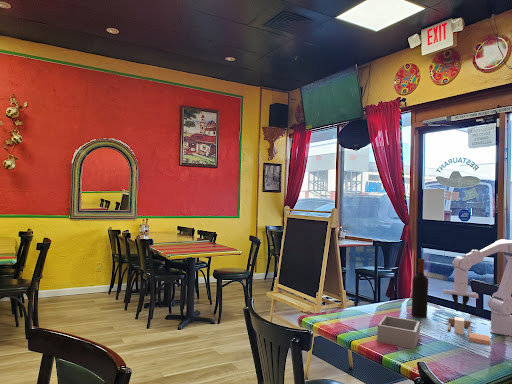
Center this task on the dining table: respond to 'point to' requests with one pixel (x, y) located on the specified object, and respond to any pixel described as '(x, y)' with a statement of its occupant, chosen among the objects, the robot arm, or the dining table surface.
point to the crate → (398, 332)
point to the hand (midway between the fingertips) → (459, 311)
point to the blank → (459, 325)
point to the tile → (479, 338)
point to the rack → (466, 324)
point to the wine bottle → (420, 292)
